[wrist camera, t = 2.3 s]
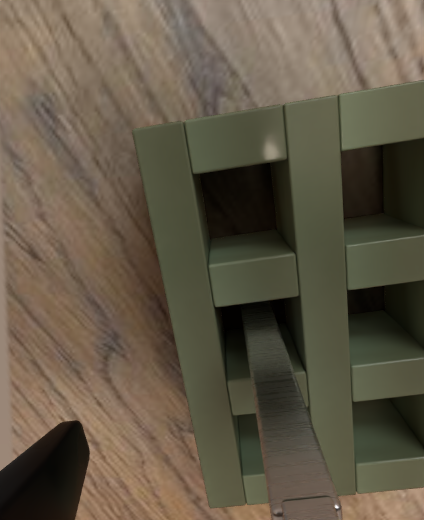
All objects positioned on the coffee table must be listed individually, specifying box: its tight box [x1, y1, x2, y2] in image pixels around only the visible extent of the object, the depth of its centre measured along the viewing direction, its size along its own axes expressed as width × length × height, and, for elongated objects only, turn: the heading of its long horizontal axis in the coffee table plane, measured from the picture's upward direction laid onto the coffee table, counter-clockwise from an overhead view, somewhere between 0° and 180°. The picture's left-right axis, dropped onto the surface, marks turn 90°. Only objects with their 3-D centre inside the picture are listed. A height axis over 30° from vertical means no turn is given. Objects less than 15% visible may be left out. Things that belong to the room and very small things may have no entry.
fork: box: [240, 300, 342, 520], centre depth 8 cm, size 1×2×13 cm, turn 9°
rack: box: [132, 80, 424, 508], centre depth 12 cm, size 9×13×4 cm
